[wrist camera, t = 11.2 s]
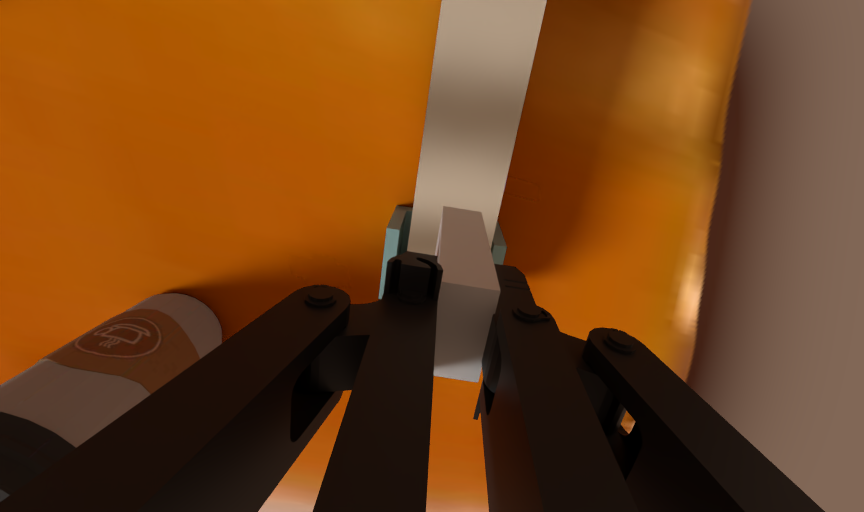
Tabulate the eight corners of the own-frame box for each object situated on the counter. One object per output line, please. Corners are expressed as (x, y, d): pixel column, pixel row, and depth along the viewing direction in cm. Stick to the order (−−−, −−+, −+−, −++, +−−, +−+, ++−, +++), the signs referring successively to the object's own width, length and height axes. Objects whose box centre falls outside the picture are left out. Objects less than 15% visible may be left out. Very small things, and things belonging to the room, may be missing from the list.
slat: (465, -129, 19) (472, -217, 13) (550, -114, 19) (590, -195, 14) (409, 260, 27) (399, 306, 21) (470, 269, 27) (475, 318, 21)
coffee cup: (243, 293, 29) (55, 481, 15) (235, 382, 32) (75, 605, 19) (125, 264, 29) (-178, 431, 15) (129, 358, 32) (-117, 567, 18)
